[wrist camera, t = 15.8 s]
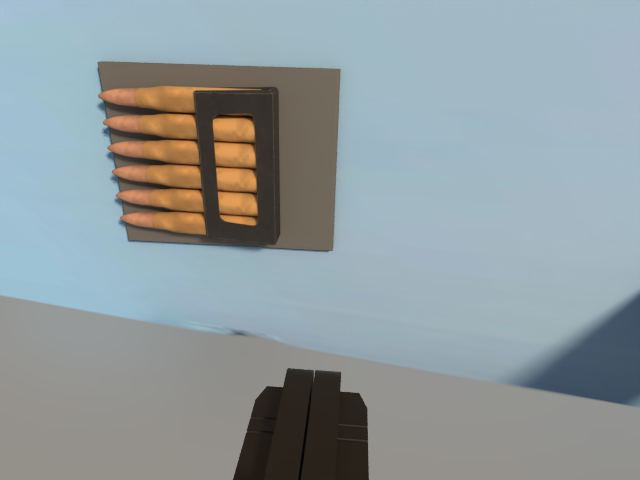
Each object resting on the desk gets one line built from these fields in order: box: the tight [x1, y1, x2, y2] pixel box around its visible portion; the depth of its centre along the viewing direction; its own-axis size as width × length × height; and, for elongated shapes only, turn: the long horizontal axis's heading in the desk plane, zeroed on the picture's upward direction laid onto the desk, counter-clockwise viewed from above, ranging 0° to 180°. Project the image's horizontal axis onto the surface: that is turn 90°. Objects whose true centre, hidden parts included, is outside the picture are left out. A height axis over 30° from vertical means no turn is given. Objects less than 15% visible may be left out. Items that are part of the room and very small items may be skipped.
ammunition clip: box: [98, 86, 280, 245], centre depth 31 cm, size 11×2×12 cm
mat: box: [98, 62, 340, 251], centre depth 32 cm, size 16×13×1 cm
